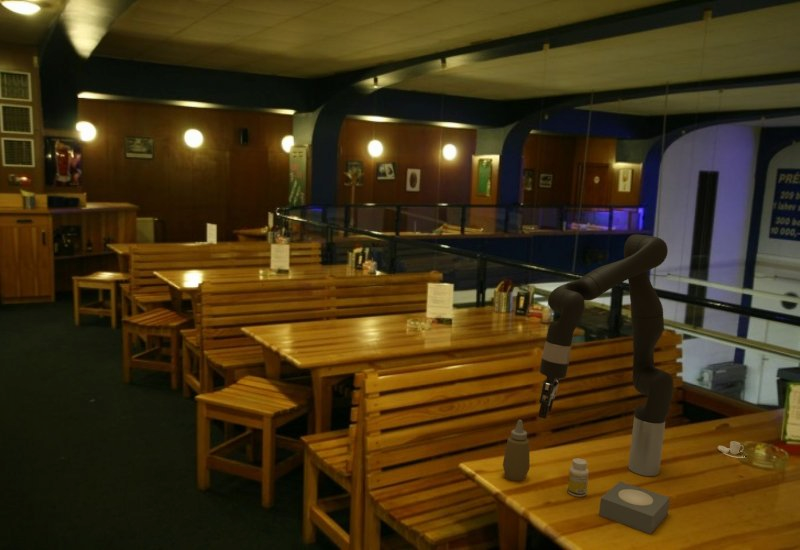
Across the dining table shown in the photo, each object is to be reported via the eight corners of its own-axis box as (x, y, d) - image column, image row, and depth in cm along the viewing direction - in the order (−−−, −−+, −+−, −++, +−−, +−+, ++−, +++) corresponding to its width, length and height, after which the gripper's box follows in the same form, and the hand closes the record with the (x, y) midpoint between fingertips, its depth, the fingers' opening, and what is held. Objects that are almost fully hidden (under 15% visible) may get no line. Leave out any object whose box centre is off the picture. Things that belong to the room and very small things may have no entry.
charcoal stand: (618, 497, 198) (620, 480, 197) (667, 514, 189) (669, 496, 188) (598, 515, 187) (600, 497, 186) (650, 534, 178) (652, 515, 178)
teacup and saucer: (714, 452, 236) (716, 441, 235) (724, 446, 241) (726, 435, 240) (740, 461, 229) (742, 449, 229) (750, 455, 235) (752, 444, 234)
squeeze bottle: (496, 472, 209) (501, 416, 206) (520, 470, 212) (524, 414, 209) (510, 484, 202) (515, 426, 199) (533, 481, 205) (539, 424, 202)
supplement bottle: (572, 486, 203) (575, 455, 201) (589, 492, 200) (593, 461, 198) (563, 492, 199) (567, 460, 197) (581, 499, 195) (584, 466, 194)
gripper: (565, 366, 186) (554, 423, 188) (571, 358, 199) (561, 412, 201) (537, 359, 189) (527, 416, 190) (546, 352, 202) (536, 405, 204)
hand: (544, 414), depth 196 cm, fingers open, 8 cm apart
